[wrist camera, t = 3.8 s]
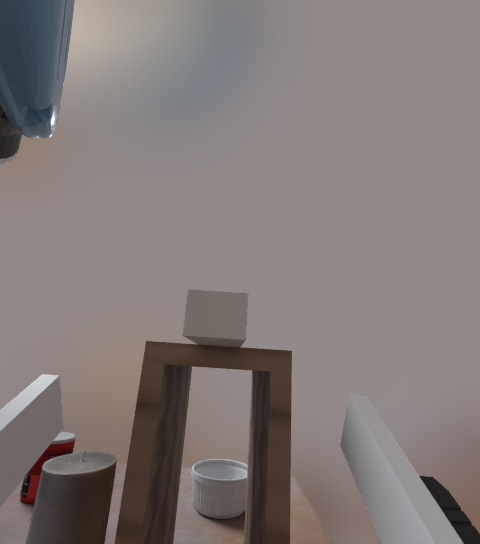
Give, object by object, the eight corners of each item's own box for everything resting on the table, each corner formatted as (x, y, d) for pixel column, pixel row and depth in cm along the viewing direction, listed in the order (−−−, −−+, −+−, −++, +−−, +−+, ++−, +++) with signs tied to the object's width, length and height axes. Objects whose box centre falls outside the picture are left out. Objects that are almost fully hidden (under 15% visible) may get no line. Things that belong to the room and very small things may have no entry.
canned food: (29, 488, 63) (42, 431, 66) (69, 487, 64) (80, 432, 68) (10, 505, 56) (26, 440, 59) (56, 504, 57) (69, 440, 61)
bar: (245, 339, 19) (248, 293, 19) (182, 335, 18) (188, 289, 19) (235, 353, 45) (237, 333, 46) (209, 351, 45) (211, 331, 46)
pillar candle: (107, 555, 43) (124, 442, 48) (88, 607, 34) (111, 461, 39) (35, 560, 42) (59, 442, 46) (-5, 616, 33) (30, 462, 37)
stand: (286, 821, 19) (291, 350, 28) (72, 812, 19) (146, 341, 28) (256, 581, 40) (264, 355, 49) (154, 576, 40) (181, 350, 49)
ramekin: (228, 488, 69) (230, 455, 72) (265, 513, 59) (266, 473, 61) (177, 500, 62) (181, 463, 64) (209, 530, 52) (212, 484, 54)
